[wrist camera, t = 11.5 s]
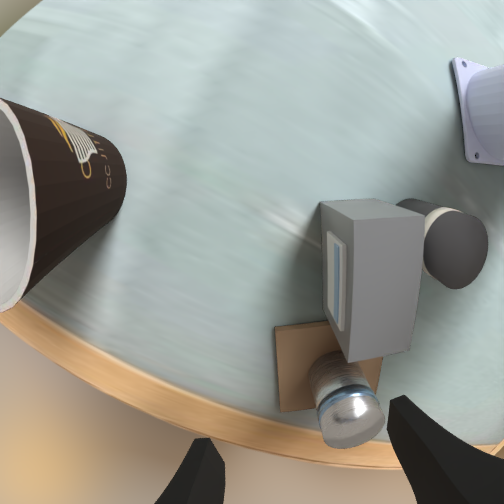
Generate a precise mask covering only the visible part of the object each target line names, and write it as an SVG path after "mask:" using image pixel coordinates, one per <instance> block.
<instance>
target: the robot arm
mask: <svg viewBox="0 0 504 504" xmlns="http://www.w3.org/2000/svg"><path fill="white" fill-rule="evenodd" d="M452 63H453V68H454V72H455V77H456V82H457V88H458V94H459V100H460V107H461V114H462V122H463V132H464V143H465V156H466V159H467V161H468V162H473V163H484V164H493V165H501V166H504V64H503V65H499V66H495V67H492V68H488V67H485V66H483V65H480V64H477V63H474V62H471V61H469V60H466V59H462V58H459V57H455V58H453V59H452ZM462 64H463V65H464V66H463V65H462ZM475 154H476V158H475ZM387 431H388V434H389V437H390V440H391V443H392V446H393V449H394V451H395V453H396V455H397V457H398V460H399V462H400V464H401V466H402V468H403V470H404V472H405V474H406V476H407V478H408V480H409V482H410V484H411V487H412V489H413V492H414V494H415V497H416V501H417V504H504V459H501V458H498V457H496V456H493V455H490V454H488V453H485V452H483V451H481V450H479V449H477V448H475V447H473V446H471V445H469V444H467V443H466V442H464V441H462V440H461V439H459V438H457V437H456V436H454V435H453V434H451V433H450V432H449V431H447V430H446V429H444V428H443V427H442V426H440V425H439V424H438V423H437V422H435V421H434V420H433V419H431V418H430V417H429V416H428V415H427V414H425V413H424V412H423V411H422V410H421V409H420V408H419V407H417V406H416V405H415V404H414V403H413V402H412V401H411V400H410V399H409V398H408V397H407V396H405V395H402V396H400V397H397V398H394V399H391V400H390V406H389V415H388V423H387ZM224 492H225V463H224V461H223V459H222V458H221V456H220V454H219V453H218V451H217V449H216V448H215V446H214V444H213V443H212V441H211V439H210V438H198V439H195V440H194V441H193V443H192V445H191V447H190V449H189V451H188V453H187V454H186V456H185V458H184V460H183V462H182V464H181V465H180V467H179V469H178V470H177V472H176V474H175V475H174V477H173V479H172V480H171V481H170V483H169V485H168V486H167V487H166V489H165V490H164V492H163V493H162V494H161V496H160V497H159V498H158V500H157V501H156V502H155V503H154V504H223V501H224Z"/></svg>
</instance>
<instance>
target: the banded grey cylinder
mask: <svg viewBox="0 0 504 504" xmlns="http://www.w3.org/2000/svg"><path fill="white" fill-rule="evenodd" d="M396 206H399V207H402V208H405V209H408V210H411V211H414V212H417V213H419V214H422V215H425V232H424V249H423V262H422V270H423V271H424V272H425V273H427V274H428V275H429V276H431V277H432V278H434V279H436V280H438V281H439V282H441V283H442V284H444V285H445V286H446V287H448V288H451V289H460V288H463V287H465V286H467V285H469V284H470V283H471V282H472V281H473V280H474V279H475V278H476V277H477V276H478V274H479V273H480V271H481V270H482V268H483V265H484V263H485V260H486V257H487V252H488V236H487V232H486V229H485V227H484V225H483V223H482V222H481V221H480V220H479V219H478V218H476V217H474V216H471V215H468V214H465V213H463V212H461V211H459V210H455V209H452V208H448V207H442V206H438V205H435V204H431V203H428V202H424V201H420V200H417V199H405V200H402V201H400V202H399V203H398V204H396Z"/></svg>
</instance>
